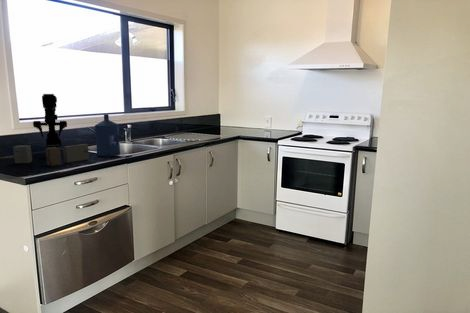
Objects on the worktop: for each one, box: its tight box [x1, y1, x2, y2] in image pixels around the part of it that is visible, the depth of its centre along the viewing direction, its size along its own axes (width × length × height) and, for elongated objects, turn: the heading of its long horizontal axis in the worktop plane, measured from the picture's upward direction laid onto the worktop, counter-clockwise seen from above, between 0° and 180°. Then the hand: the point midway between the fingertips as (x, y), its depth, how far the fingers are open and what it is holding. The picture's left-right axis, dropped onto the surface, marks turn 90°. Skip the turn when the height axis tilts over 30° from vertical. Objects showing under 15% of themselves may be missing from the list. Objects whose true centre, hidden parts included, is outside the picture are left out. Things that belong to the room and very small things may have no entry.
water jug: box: [94, 113, 121, 157], centre depth 251 cm, size 16×16×28 cm
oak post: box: [45, 147, 62, 167], centre depth 220 cm, size 7×6×10 cm
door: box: [62, 143, 90, 164], centre depth 228 cm, size 16×3×10 cm, turn 140°
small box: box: [12, 144, 33, 164], centre depth 226 cm, size 8×6×10 cm
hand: (50, 137), depth 226 cm, fingers open, 9 cm apart
